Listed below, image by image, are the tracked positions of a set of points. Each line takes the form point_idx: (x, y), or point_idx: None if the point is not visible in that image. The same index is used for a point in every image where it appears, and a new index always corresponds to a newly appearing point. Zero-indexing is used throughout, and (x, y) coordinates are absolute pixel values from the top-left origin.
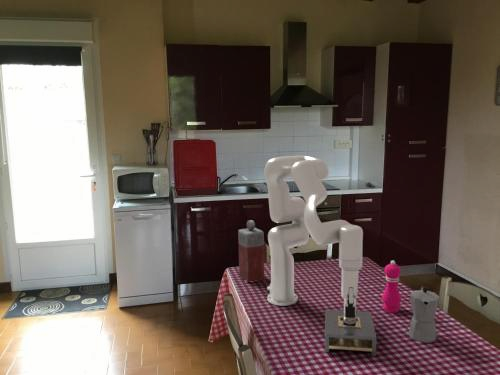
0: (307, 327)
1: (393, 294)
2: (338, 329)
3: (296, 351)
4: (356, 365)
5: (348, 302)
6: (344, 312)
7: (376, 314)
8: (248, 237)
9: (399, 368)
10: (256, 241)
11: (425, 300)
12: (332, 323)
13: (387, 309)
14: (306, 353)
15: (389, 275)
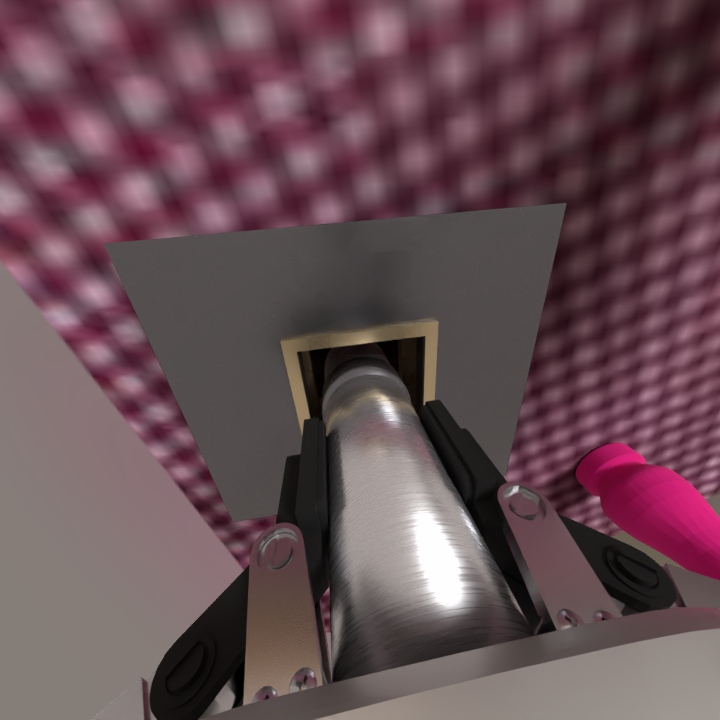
0: (463, 80)
1: (652, 537)
2: (239, 341)
3: (94, 3)
4: (147, 392)
5: (150, 704)
6: (350, 420)
7: (571, 426)
8: None
9: (207, 507)
10: None
11: None
12: (321, 288)
13: (593, 462)
14: (113, 105)
15: None
